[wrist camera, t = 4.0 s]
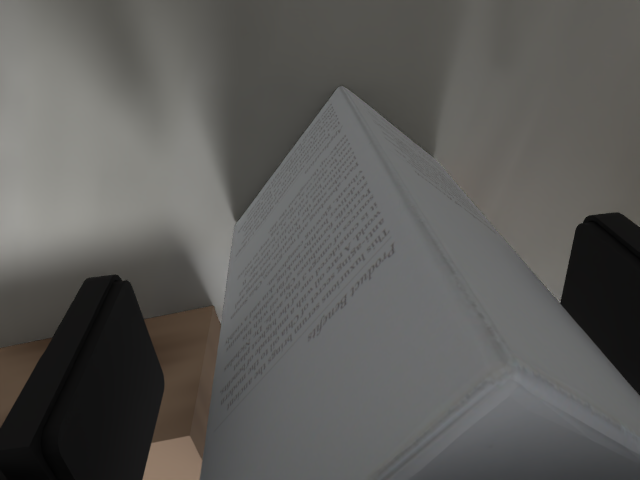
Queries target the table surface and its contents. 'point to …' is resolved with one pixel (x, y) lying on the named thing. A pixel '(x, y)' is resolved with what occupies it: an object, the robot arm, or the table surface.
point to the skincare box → (398, 332)
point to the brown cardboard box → (179, 391)
